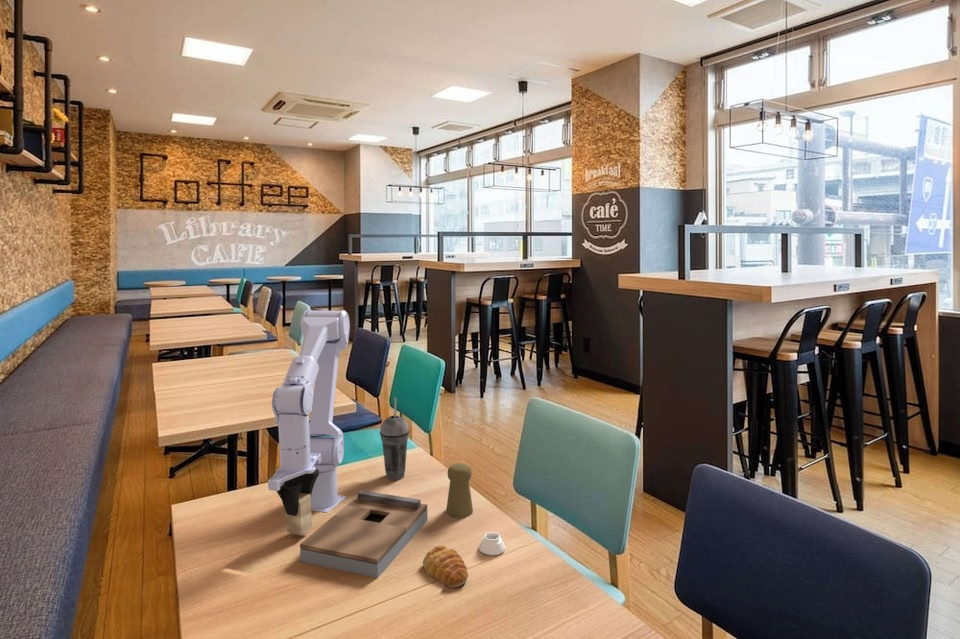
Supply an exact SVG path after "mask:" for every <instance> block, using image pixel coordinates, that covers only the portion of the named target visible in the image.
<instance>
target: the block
mask: <svg viewBox="0 0 960 639" xmlns="http://www.w3.org/2000/svg"><path fill="white" fill-rule="evenodd" d="M312 520H313V518H312V510H311V494H305V493H299V500H298V512H297V515H296V516H292V515H287V514H286V513H285V523H286V525H285V527H286V533H287V534H292V535H297V536H303V535H304V534H305V533H306V532H307V533H308V531H309V530H310V529H311V528H313V521H312Z"/></svg>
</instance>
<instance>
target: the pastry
mask: <svg viewBox="0 0 960 639" xmlns="http://www.w3.org/2000/svg"><path fill="white" fill-rule="evenodd" d="M422 565H423V568H424V572H425V573H426V574H427V575H429V576H430V577H431V578H433V579H435V580H437V581H438V582H440V583H443V585H444V586H445V587H449V588H452V589H453V588H454V589H455V588H458V587H460V586H462V585H464V584H465V583H466V582H467V579H468V577H469V573H468V569H467V568H468V567H467V566H466V563H465V561H464V560H463V558H462V557H461V556H460V554H459V553H458V552H457V551H456V550H455V549H454V548H448V547H447V546H446V545H437V546H434V547H433V548H432V549H431V550H429V551H428V552H426V554H425V556H424V558H423V560H422Z"/></svg>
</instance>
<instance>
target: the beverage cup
mask: <svg viewBox="0 0 960 639" xmlns="http://www.w3.org/2000/svg"><path fill="white" fill-rule="evenodd" d="M393 400H394V401H393V404H394V405H393V415H391V416H388V417H386V418H385V419H384V421H382V424H381V425H380V430H379V435H380V440H381V443H382V445H381V446H382V452H383V454H382V455H383V463H384V470H385V475H386V476H385V477H386V479H388V480H390V481H397V480H402V479H403V478H405V474H406V464H407V449H408V440H409V437H410V436H409V434H410V430H409V426H408V423H407V421H406V420H405V419H404V418H403V417H401V416H399V415H397V397H394V398H393Z"/></svg>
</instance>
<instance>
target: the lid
mask: <svg viewBox="0 0 960 639" xmlns="http://www.w3.org/2000/svg"><path fill="white" fill-rule="evenodd" d="M421 501H422V500H421V499H419V498H418V499H417V498H412V497H405V496H400V495H393V494H387V493H380V492H376V491H375V492H374V491H368V490H363V489H362V490H360V491H359V492H357V496H356V497H354V498H353V499H352V500H351V501H350V502H348V503H347V504H346V505H345V506H344V507H342V508H341V509H340V510H339V511H338V512H336V513H335V514H334V515H332V517H331V518H329V519H328V520H327V521H326V522H325V523H323V524H322V525H321V526H320V527H319V528H317V529H316V530H315V531H314V532H312V533H311V534H310V535H309V536H307V538H305V539H304V540H303V541H302V542H300V543H299V549H301V548H302V549H307V550H312V551H317V552H322V553H327V554H332V555H337V556H342V557H347V558H352V559H357V560H362V561H367V562H372V563H376V564H378V563H379V562H380V560H381V559H382V558H383V557H384V556H385V555H386V554H387V553H388V552H389V550H390V549H391V548H392V547H393V546H394V545H395V544H396V543H397V542H398V540H399V539H400V538H401V537H402V536H403V535H404V534H405V533H406V532H407V530H408V529H409V528H410V527H411V526H412V525H413V524H414V523H415V522H416V520H417V519H418V518H419V517H420V516H421V515H422V514H423V513H424V511H425V510H426V509H427V510H428V504H427V503H426V504H425V503H422V502H421ZM370 513H374V514H379V515H385V516H387V517H386V518H385V519H384V520H382V521H381V522H380V523H377V522H371V521H366V520H364V519H365V518H366V517H367V516H368V515H369V514H370Z"/></svg>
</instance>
